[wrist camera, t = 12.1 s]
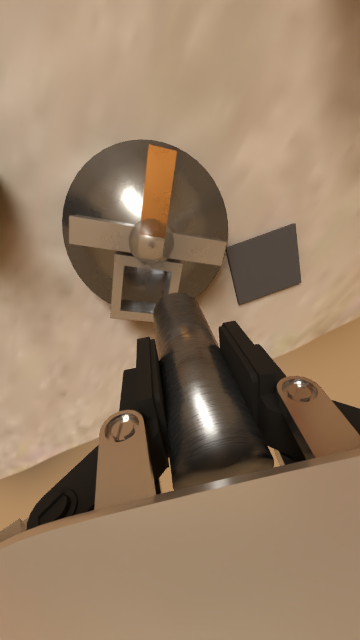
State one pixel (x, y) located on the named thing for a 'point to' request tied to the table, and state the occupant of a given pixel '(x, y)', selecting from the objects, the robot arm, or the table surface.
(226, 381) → the grey pestle
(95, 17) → the table surface
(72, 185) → the chuck base
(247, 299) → the mat
